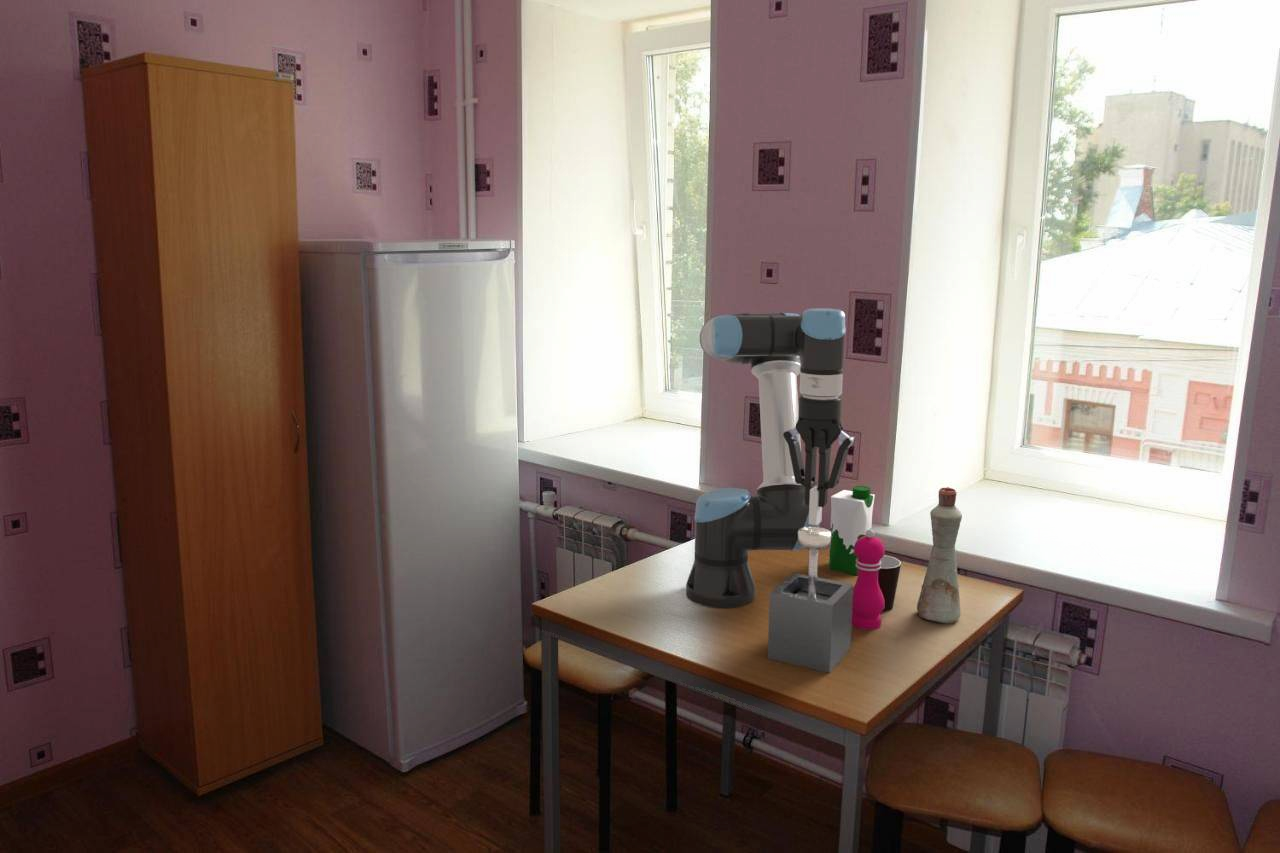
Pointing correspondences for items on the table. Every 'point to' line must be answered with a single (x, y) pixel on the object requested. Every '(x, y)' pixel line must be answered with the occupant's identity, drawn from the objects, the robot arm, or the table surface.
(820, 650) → the tower
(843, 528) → the milk carton
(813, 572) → the plunger
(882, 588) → the coffee mug
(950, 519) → the bottle
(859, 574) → the pepper mill
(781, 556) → the table surface
